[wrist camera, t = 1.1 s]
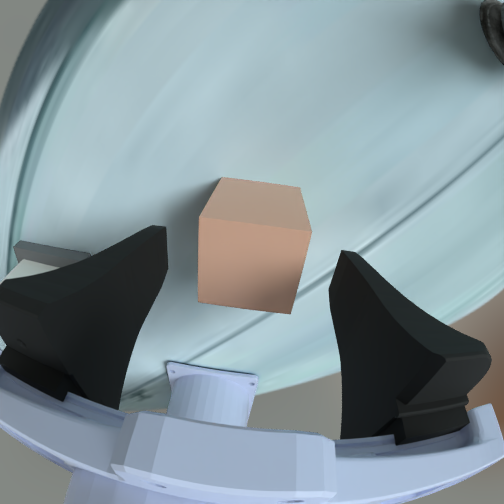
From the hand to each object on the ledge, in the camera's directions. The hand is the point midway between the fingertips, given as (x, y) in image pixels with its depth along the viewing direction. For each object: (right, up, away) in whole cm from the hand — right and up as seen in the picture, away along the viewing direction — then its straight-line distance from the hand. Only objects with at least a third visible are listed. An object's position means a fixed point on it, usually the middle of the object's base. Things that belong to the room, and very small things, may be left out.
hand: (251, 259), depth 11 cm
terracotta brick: (0, +2, +4) cm, 4 cm away
